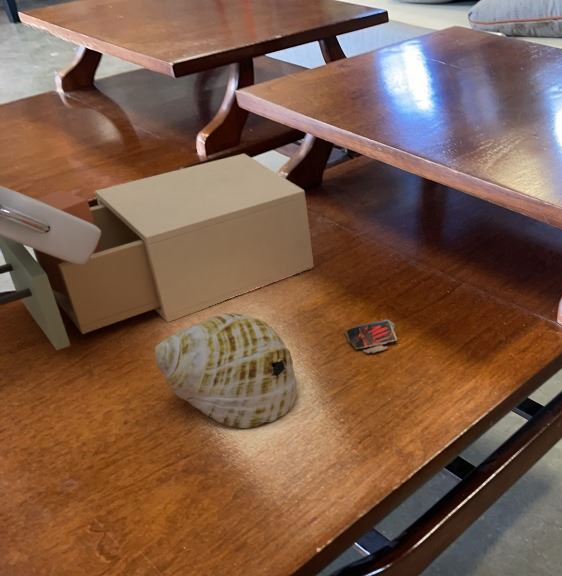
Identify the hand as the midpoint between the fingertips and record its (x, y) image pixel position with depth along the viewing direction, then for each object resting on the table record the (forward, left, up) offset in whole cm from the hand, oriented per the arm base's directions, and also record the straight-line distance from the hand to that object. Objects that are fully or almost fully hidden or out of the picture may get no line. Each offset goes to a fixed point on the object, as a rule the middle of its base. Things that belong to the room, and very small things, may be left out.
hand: (72, 239), depth 73 cm
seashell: (+4, -22, -8) cm, 24 cm away
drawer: (0, 0, -7) cm, 7 cm away
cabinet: (+13, 0, -8) cm, 15 cm away
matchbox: (+18, -23, -8) cm, 30 cm away
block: (-1, 0, -5) cm, 5 cm away
